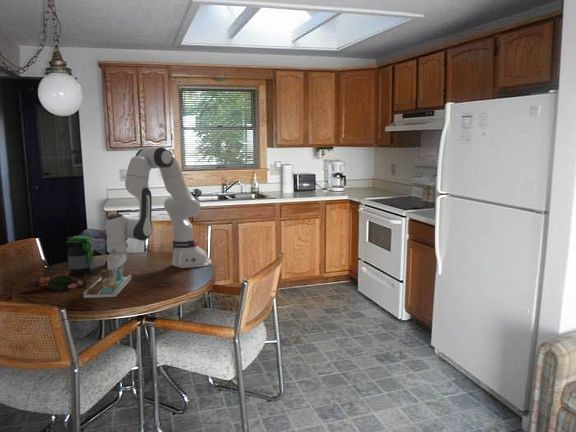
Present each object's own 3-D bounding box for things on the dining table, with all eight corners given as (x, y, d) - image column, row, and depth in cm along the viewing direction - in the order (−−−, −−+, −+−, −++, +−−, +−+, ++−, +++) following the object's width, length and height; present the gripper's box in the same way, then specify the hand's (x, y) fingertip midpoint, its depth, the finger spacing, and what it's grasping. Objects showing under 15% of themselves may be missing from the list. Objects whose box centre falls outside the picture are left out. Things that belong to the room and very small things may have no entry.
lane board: (131, 278, 236) (131, 274, 236) (115, 296, 209) (115, 292, 208) (103, 279, 235) (103, 275, 235) (83, 297, 208) (83, 292, 207)
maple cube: (116, 286, 215) (115, 277, 215) (113, 289, 211) (112, 280, 210) (106, 286, 215) (105, 277, 214) (103, 289, 211) (102, 280, 210)
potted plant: (92, 275, 242) (89, 238, 239) (66, 276, 241) (62, 238, 238) (99, 270, 253) (96, 234, 249) (74, 270, 252) (71, 234, 249)
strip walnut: (110, 280, 229) (110, 269, 228) (97, 293, 209) (96, 281, 208) (102, 280, 228) (101, 269, 227) (88, 294, 209) (87, 281, 208)
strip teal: (124, 280, 229) (123, 269, 228) (111, 293, 209) (111, 281, 208) (115, 280, 229) (115, 269, 228) (102, 293, 209) (102, 281, 208)
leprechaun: (86, 284, 219) (26, 285, 210) (85, 298, 225) (27, 299, 215) (87, 268, 227) (29, 268, 217) (86, 281, 232) (30, 282, 223)
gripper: (116, 252, 215) (118, 280, 217) (128, 243, 235) (130, 269, 237) (103, 252, 214) (104, 281, 216) (116, 243, 234) (117, 269, 236)
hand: (118, 274), depth 227 cm, fingers open, 8 cm apart
